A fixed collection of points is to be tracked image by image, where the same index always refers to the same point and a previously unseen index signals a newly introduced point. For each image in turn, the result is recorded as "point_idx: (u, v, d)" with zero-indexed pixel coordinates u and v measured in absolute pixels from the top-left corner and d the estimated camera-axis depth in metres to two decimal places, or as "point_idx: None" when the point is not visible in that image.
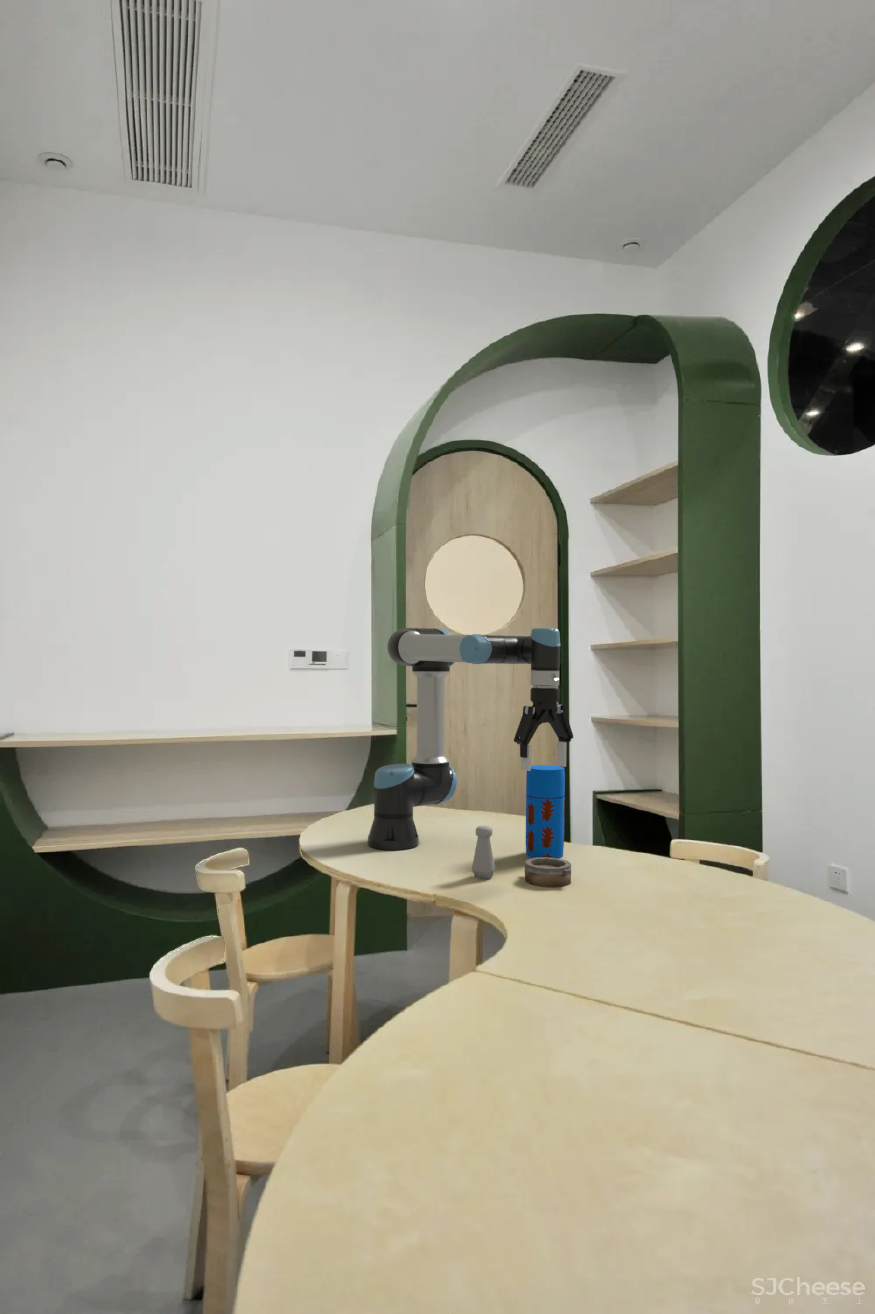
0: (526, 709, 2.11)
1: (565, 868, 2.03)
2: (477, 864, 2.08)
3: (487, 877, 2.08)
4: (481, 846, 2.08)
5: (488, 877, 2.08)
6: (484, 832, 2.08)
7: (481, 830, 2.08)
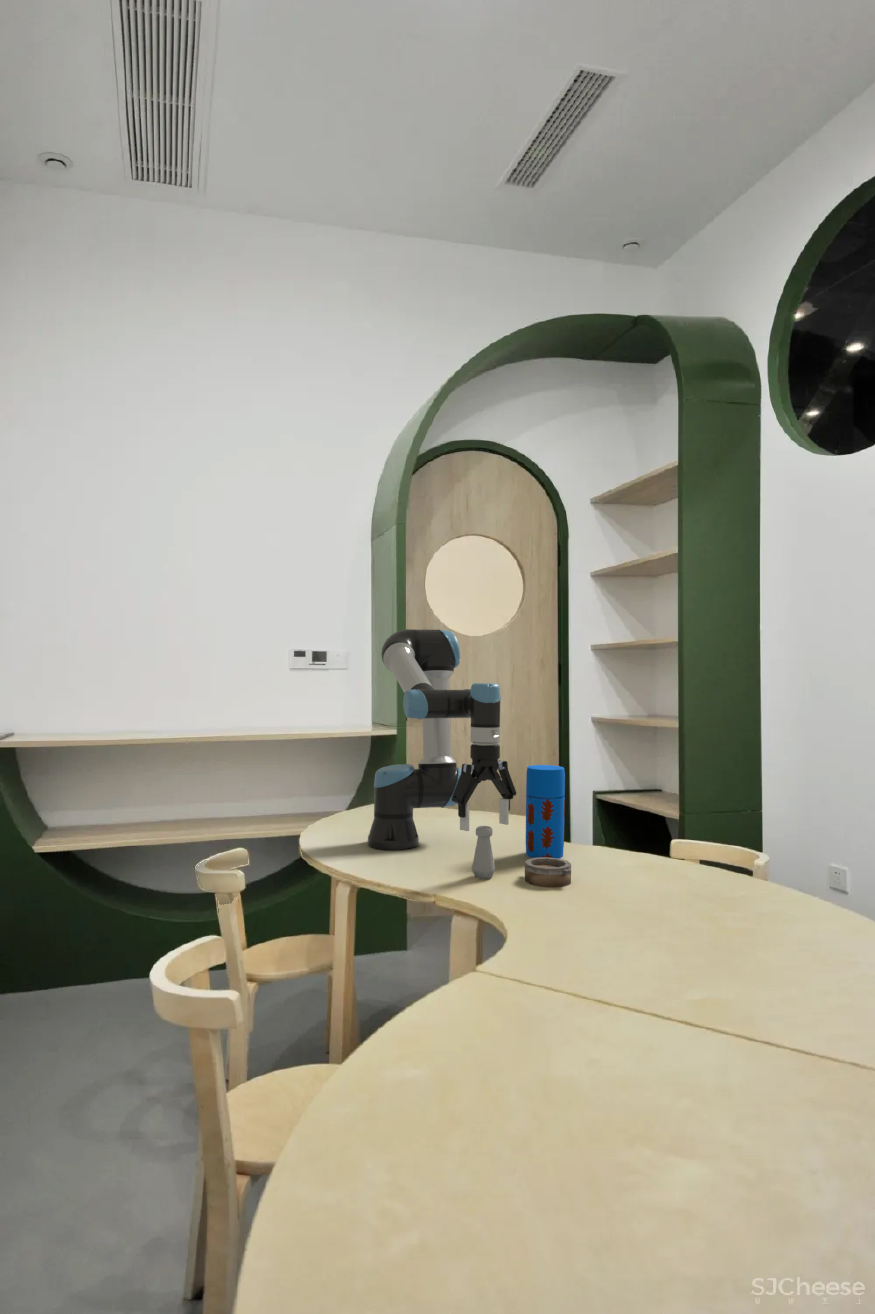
0: (464, 767, 2.05)
1: (565, 868, 2.03)
2: (477, 864, 2.08)
3: (487, 877, 2.08)
4: (481, 846, 2.08)
5: (488, 877, 2.08)
6: (484, 832, 2.08)
7: (481, 830, 2.08)
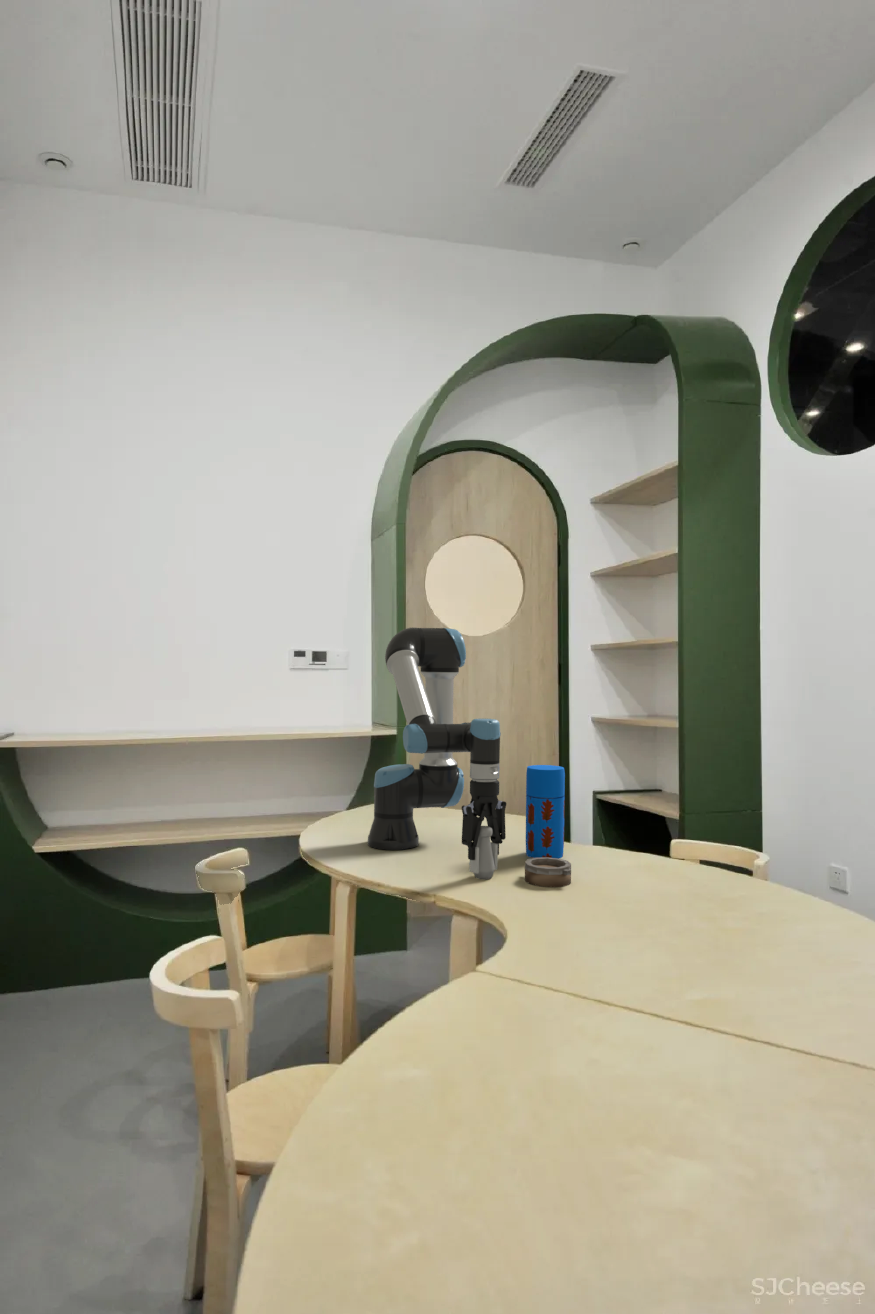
0: (464, 810, 2.06)
1: (565, 868, 2.03)
2: None
3: (487, 877, 2.08)
4: (481, 846, 2.08)
5: (488, 877, 2.08)
6: (484, 832, 2.08)
7: (481, 830, 2.08)
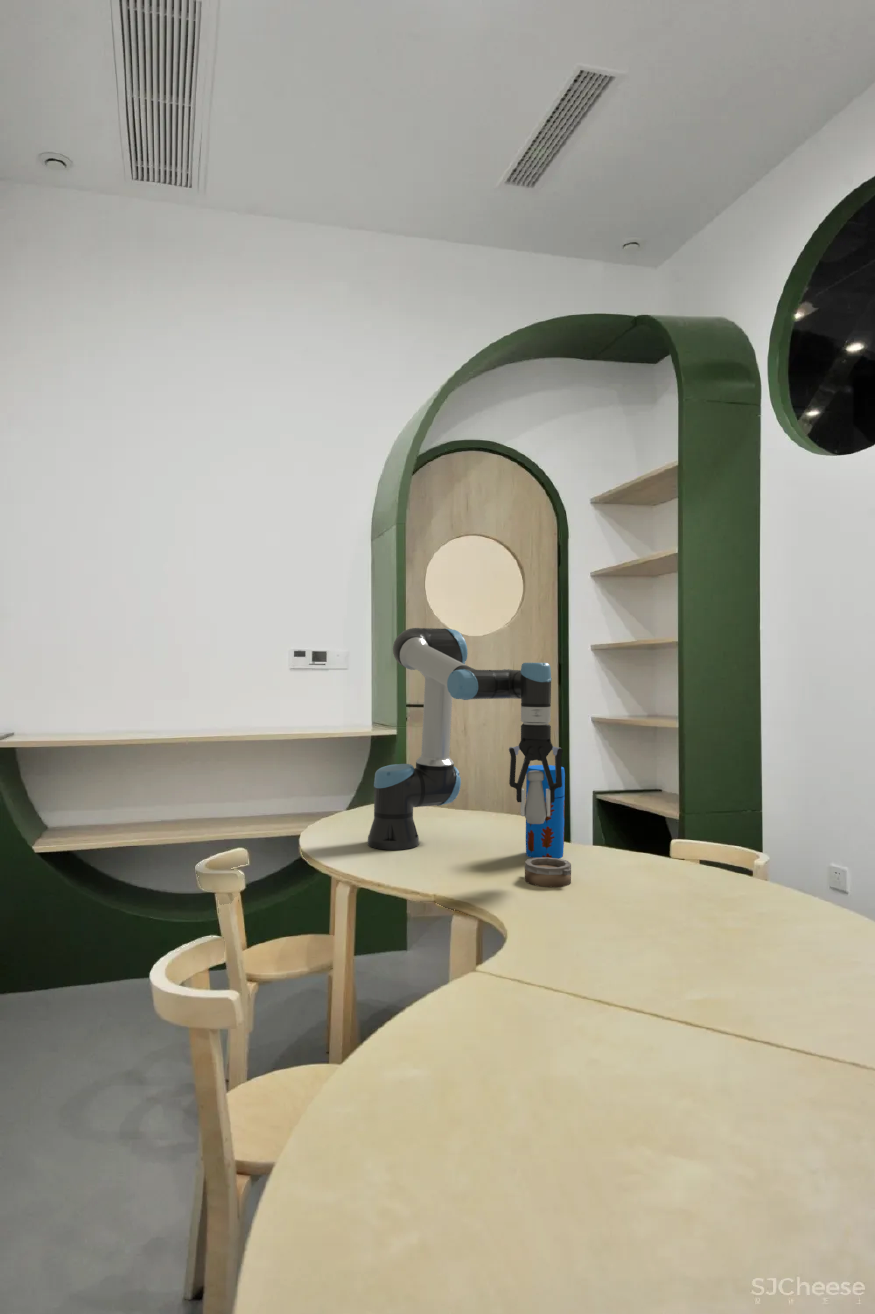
0: (509, 751, 2.08)
1: (565, 868, 2.03)
2: (525, 808, 2.07)
3: (533, 822, 2.05)
4: (529, 789, 2.07)
5: (535, 822, 2.05)
6: (530, 776, 2.06)
7: (528, 774, 2.07)
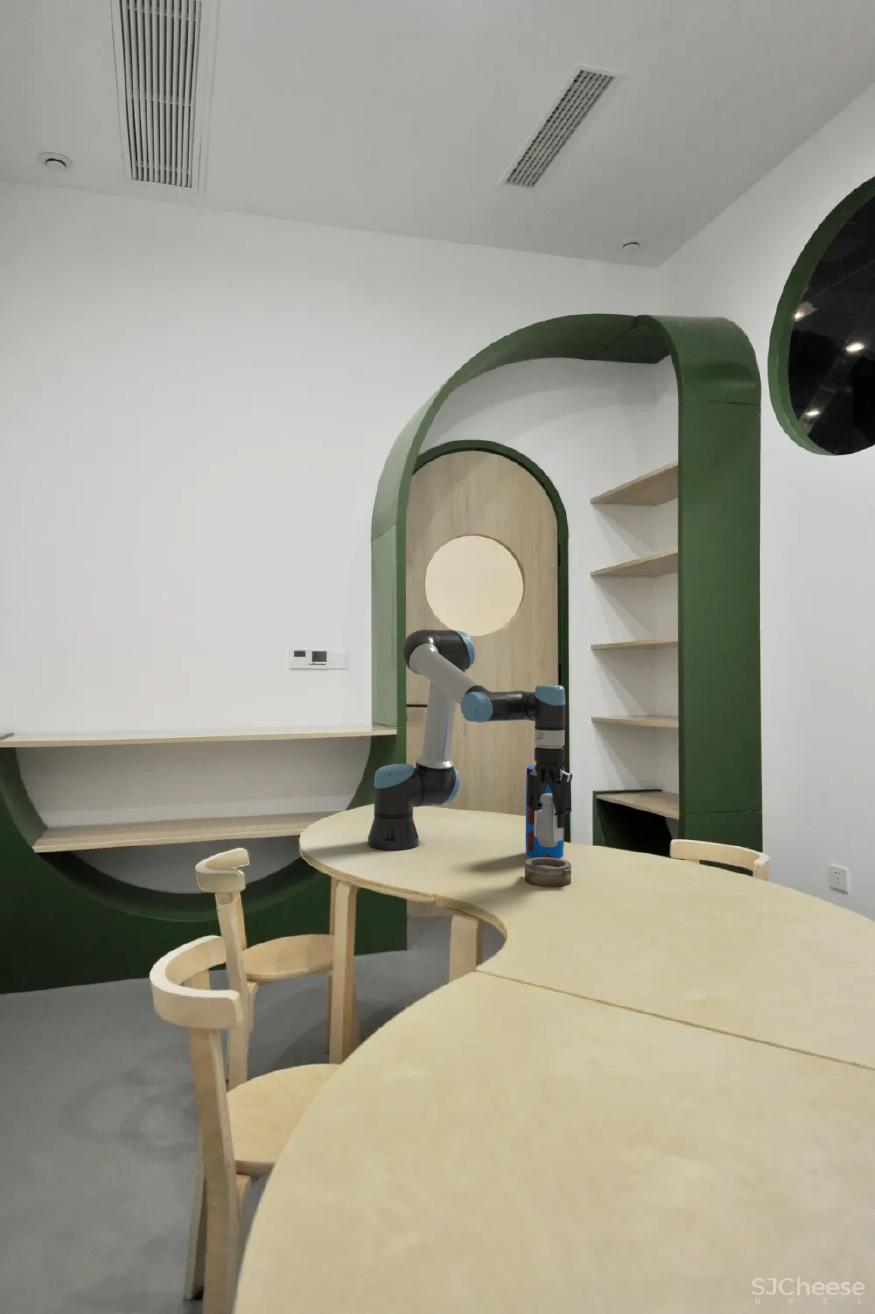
0: None
1: (565, 868, 2.03)
2: None
3: (540, 843, 2.07)
4: None
5: (541, 844, 2.06)
6: (540, 798, 2.07)
7: None
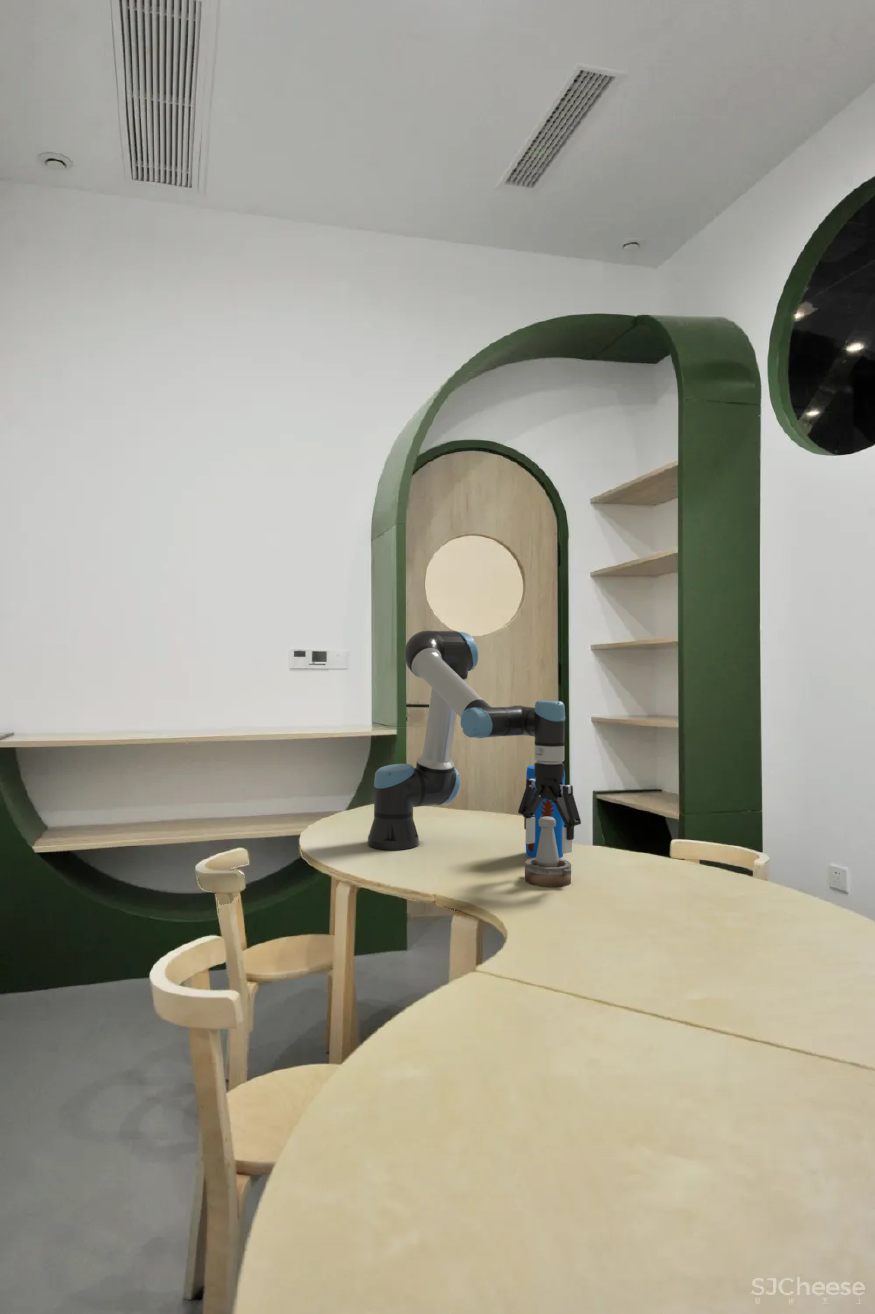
0: None
1: (565, 868, 2.03)
2: None
3: None
4: None
5: None
6: None
7: None
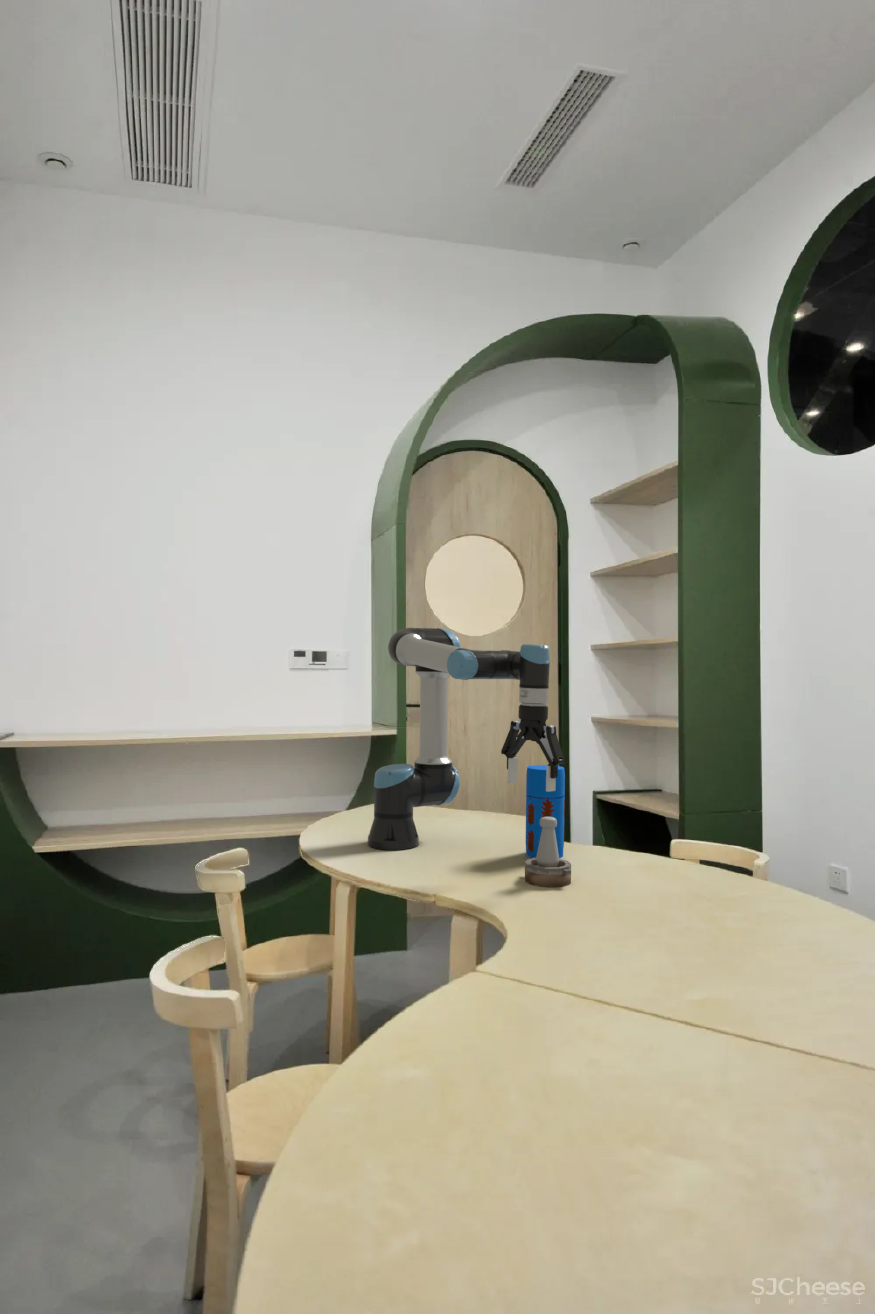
0: None
1: (565, 868, 2.03)
2: None
3: None
4: None
5: None
6: None
7: None
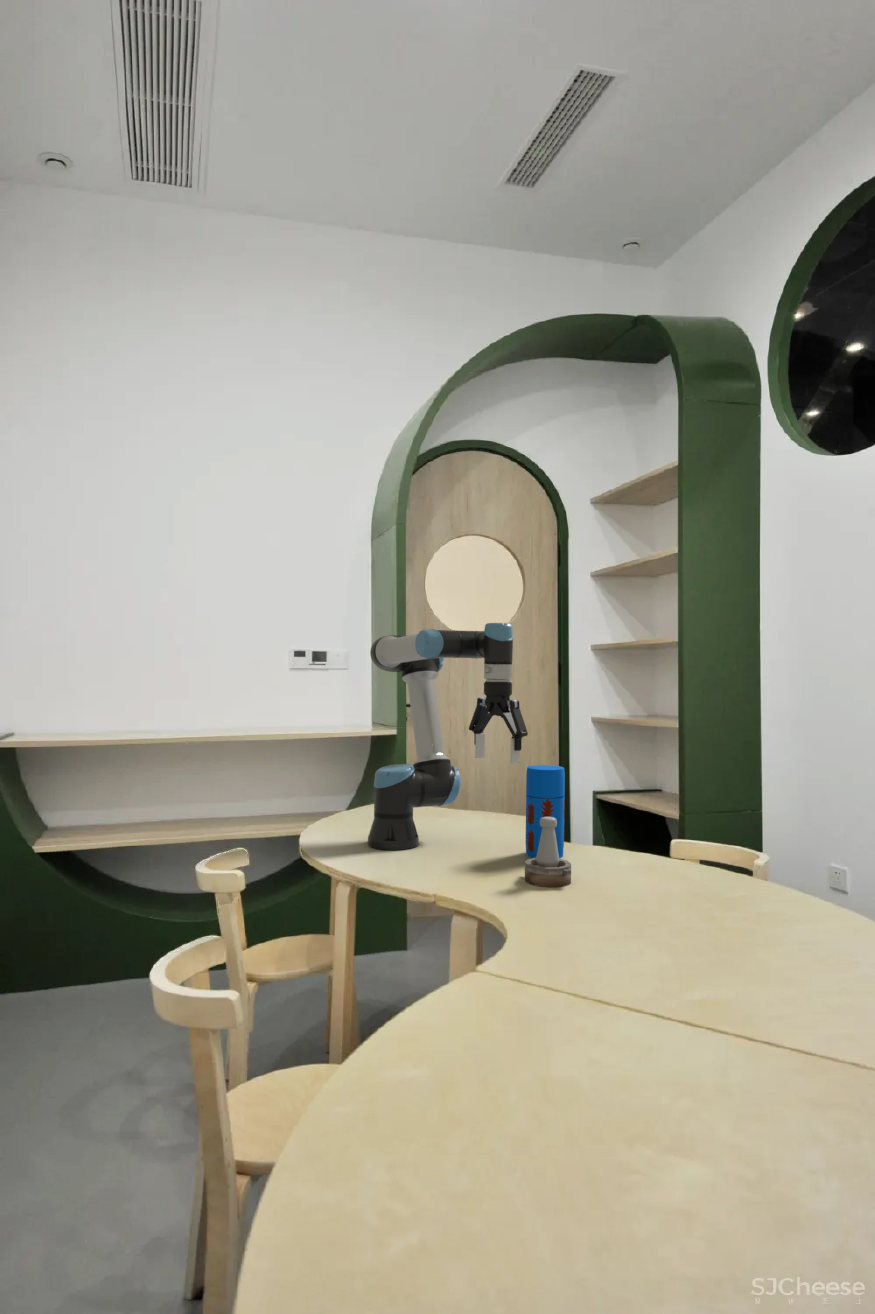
0: None
1: (565, 868, 2.03)
2: None
3: None
4: None
5: None
6: None
7: None
